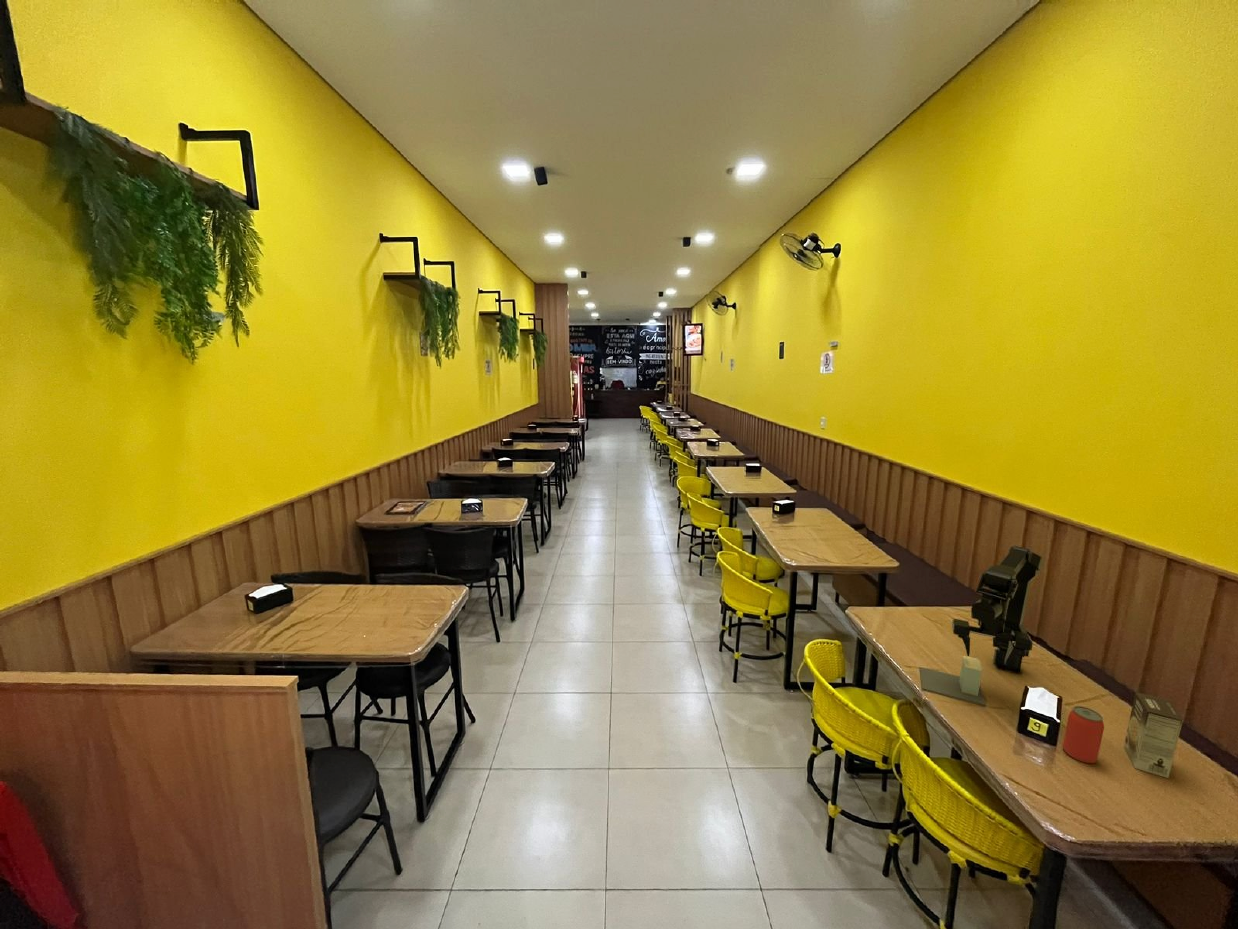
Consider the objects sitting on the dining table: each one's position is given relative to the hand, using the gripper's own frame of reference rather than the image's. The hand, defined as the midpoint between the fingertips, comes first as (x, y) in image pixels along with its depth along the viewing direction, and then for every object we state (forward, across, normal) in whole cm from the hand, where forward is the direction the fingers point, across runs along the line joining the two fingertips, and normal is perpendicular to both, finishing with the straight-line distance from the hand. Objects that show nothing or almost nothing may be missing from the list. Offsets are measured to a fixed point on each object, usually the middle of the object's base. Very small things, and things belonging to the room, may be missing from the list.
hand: (986, 660), depth 149 cm
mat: (+11, +8, 0) cm, 14 cm away
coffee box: (+12, -32, +13) cm, 37 cm away
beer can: (+11, -18, +18) cm, 28 cm away
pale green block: (+11, +3, 0) cm, 11 cm away
